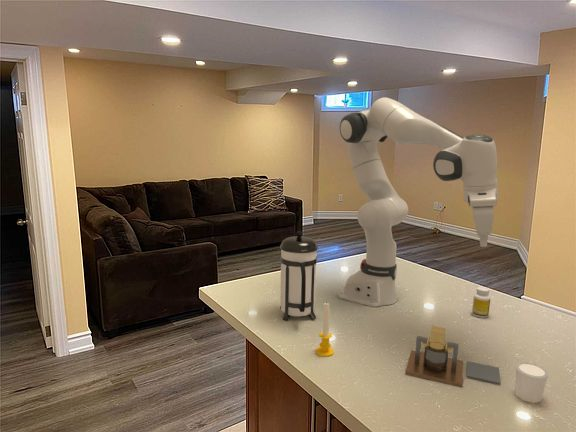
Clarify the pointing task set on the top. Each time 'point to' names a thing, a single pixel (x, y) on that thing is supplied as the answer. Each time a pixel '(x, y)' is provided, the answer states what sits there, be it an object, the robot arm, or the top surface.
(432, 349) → the cap
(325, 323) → the candle
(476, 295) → the supplement bottle
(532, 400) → the white cylinder
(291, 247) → the coffee press
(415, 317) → the top surface
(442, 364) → the drum on wooden base
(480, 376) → the mat
